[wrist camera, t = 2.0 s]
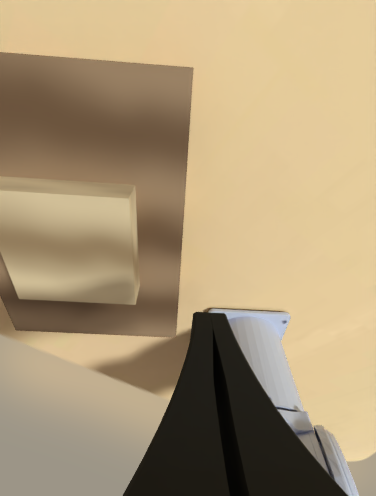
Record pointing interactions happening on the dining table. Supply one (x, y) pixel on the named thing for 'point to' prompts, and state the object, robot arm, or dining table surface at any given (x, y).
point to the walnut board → (102, 172)
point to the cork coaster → (70, 240)
